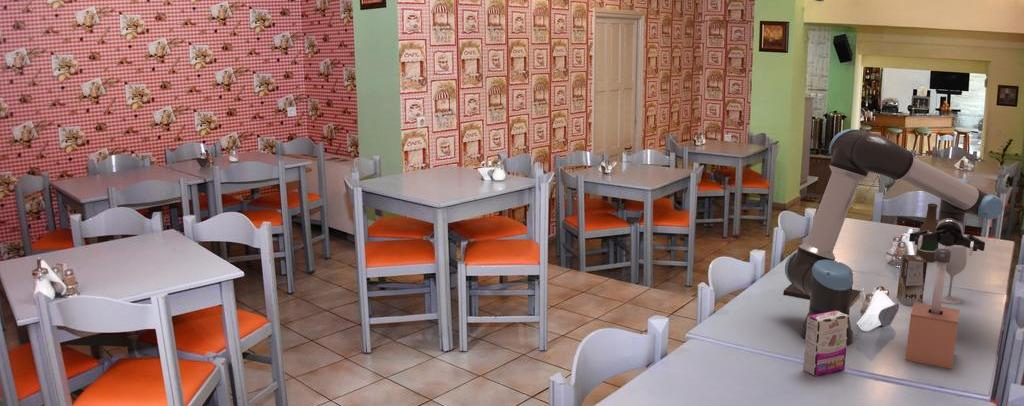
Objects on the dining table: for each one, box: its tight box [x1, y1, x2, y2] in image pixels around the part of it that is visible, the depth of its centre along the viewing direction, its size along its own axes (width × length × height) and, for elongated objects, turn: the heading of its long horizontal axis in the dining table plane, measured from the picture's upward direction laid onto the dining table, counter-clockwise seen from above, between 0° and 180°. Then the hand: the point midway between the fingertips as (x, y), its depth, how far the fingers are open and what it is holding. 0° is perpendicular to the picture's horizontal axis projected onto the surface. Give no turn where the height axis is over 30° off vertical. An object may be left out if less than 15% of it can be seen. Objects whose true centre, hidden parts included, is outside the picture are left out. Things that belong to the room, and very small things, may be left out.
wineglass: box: [942, 245, 967, 305], centre depth 284 cm, size 8×8×21 cm
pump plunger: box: [931, 248, 951, 314], centre depth 230 cm, size 8×4×22 cm, turn 149°
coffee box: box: [896, 254, 929, 306], centre depth 283 cm, size 9×6×16 cm
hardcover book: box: [783, 283, 862, 308], centre depth 291 cm, size 16×23×2 cm
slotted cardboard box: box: [905, 302, 961, 369], centre depth 235 cm, size 12×12×14 cm
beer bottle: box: [915, 202, 940, 263], centre depth 334 cm, size 8×8×24 cm
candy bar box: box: [802, 311, 850, 377], centre depth 225 cm, size 11×5×16 cm, turn 114°
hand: (944, 247), depth 238 cm, fingers open, 13 cm apart
